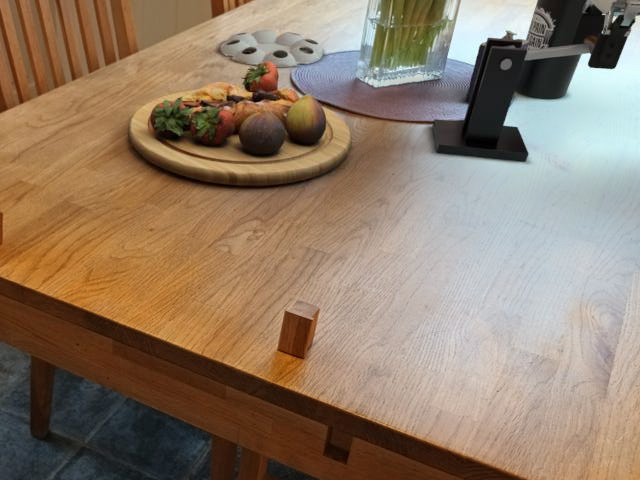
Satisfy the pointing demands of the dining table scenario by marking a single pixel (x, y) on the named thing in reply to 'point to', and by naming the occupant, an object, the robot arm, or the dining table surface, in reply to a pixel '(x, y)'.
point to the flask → (479, 58)
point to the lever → (562, 50)
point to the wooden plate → (241, 133)
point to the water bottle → (546, 32)
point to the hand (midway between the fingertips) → (591, 56)
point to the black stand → (488, 108)
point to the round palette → (272, 49)
